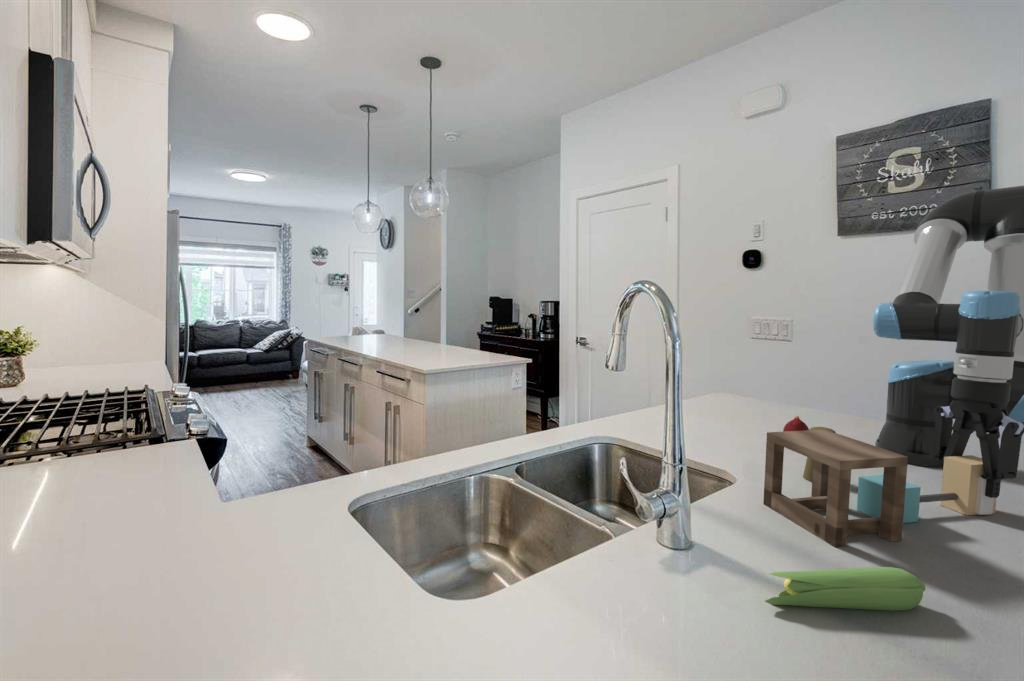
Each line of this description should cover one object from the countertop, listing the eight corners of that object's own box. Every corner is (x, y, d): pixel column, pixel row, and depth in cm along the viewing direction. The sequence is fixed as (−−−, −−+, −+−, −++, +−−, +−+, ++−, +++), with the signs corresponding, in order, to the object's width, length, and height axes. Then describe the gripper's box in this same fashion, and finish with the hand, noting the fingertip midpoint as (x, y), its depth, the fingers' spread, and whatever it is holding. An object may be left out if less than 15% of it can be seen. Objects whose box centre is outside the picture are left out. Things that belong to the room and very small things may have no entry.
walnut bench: (820, 499, 92) (824, 429, 91) (901, 540, 77) (907, 456, 75) (763, 503, 90) (766, 432, 89) (835, 547, 74) (840, 461, 73)
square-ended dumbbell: (963, 501, 92) (967, 454, 91) (999, 514, 86) (1004, 464, 85) (856, 509, 88) (859, 460, 87) (887, 524, 82) (891, 471, 81)
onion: (813, 450, 122) (815, 418, 122) (790, 450, 122) (792, 418, 122) (800, 443, 128) (802, 413, 127) (778, 443, 128) (779, 413, 127)
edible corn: (944, 587, 57) (915, 557, 61) (769, 588, 58) (752, 558, 62) (931, 619, 59) (904, 588, 63) (762, 619, 60) (746, 588, 64)
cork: (842, 485, 99) (845, 432, 98) (809, 483, 100) (812, 430, 99) (829, 475, 105) (832, 424, 104) (798, 473, 106) (801, 423, 105)
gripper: (914, 371, 94) (903, 489, 96) (1023, 387, 77) (1007, 530, 79) (947, 372, 96) (935, 488, 97) (1061, 387, 78) (1044, 528, 80)
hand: (967, 507), depth 88 cm, fingers closed on square-ended dumbbell, 4 cm apart
